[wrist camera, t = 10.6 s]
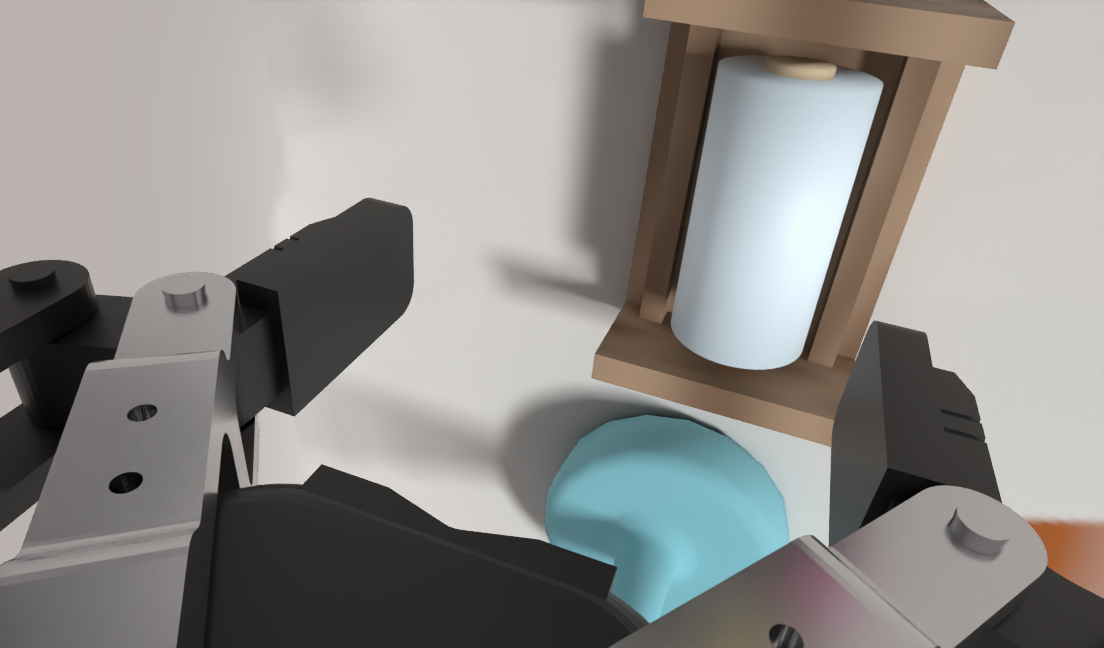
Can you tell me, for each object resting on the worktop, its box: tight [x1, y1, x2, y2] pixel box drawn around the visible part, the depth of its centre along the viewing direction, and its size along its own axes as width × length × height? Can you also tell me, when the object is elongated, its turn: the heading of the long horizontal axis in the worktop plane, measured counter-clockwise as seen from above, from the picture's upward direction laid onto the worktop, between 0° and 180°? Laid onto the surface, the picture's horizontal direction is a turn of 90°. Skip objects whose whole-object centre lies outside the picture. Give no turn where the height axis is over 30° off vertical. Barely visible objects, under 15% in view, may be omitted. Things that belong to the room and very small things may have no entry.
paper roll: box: [671, 55, 883, 370], centre depth 26 cm, size 11×5×5 cm, turn 176°
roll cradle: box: [592, 0, 1015, 447], centre depth 27 cm, size 10×15×6 cm, turn 175°
